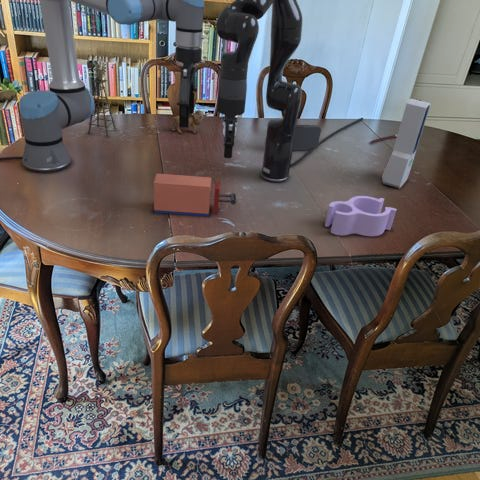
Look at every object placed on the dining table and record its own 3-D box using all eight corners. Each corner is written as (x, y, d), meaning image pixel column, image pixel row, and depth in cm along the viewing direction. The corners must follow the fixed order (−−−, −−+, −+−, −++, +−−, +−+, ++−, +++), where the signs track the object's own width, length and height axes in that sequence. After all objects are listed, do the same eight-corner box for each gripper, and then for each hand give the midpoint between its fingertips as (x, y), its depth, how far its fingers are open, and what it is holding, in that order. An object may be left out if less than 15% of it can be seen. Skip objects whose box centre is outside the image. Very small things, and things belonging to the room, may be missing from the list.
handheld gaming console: (315, 147, 196) (319, 124, 190) (317, 149, 194) (322, 126, 188) (264, 149, 189) (267, 125, 183) (266, 152, 187) (269, 127, 181)
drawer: (234, 206, 145) (236, 182, 140) (234, 214, 141) (237, 190, 136) (168, 201, 143) (168, 178, 139) (166, 209, 139) (167, 185, 135)
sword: (407, 132, 223) (408, 129, 223) (413, 134, 221) (413, 131, 221) (364, 143, 208) (365, 141, 207) (370, 146, 206) (370, 143, 205)
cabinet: (209, 206, 145) (211, 177, 140) (208, 216, 140) (210, 186, 135) (156, 202, 144) (156, 173, 139) (153, 212, 139) (153, 182, 133)
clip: (337, 240, 135) (342, 219, 131) (318, 218, 145) (322, 198, 141) (395, 233, 141) (402, 213, 137) (373, 213, 151) (378, 194, 147)
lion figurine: (200, 128, 202) (201, 108, 197) (204, 133, 198) (205, 112, 193) (167, 129, 197) (167, 108, 192) (170, 134, 193) (170, 113, 188)
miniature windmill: (107, 136, 184) (102, 57, 168) (87, 133, 185) (80, 54, 169) (116, 129, 192) (112, 52, 176) (97, 126, 193) (91, 49, 177)
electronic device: (399, 190, 168) (424, 107, 152) (379, 183, 171) (402, 102, 155) (408, 178, 177) (433, 100, 161) (389, 173, 180) (411, 95, 164)
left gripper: (197, 57, 122) (194, 134, 134) (206, 40, 143) (202, 108, 155) (168, 54, 122) (168, 132, 134) (181, 37, 143) (180, 106, 155)
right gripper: (247, 103, 118) (241, 162, 127) (244, 88, 130) (239, 143, 139) (217, 101, 117) (214, 161, 126) (217, 85, 129) (214, 141, 138)
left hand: (186, 119), depth 144 cm, fingers open, 13 cm apart
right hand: (227, 151), depth 132 cm, fingers open, 8 cm apart
